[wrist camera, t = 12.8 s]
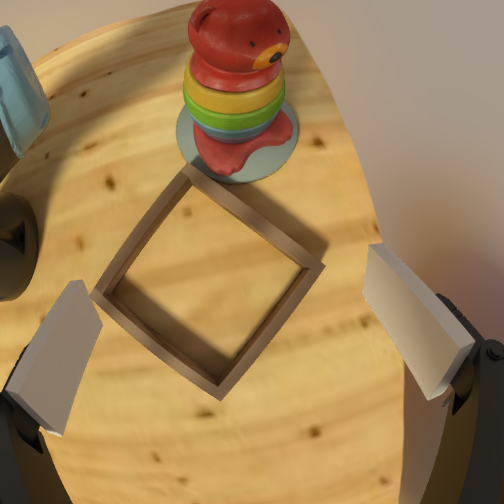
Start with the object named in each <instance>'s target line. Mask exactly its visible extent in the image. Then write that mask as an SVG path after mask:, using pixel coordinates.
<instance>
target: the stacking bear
mask: <svg viewBox="0 0 504 504" xmlns="http://www.w3.org/2000/svg"><path fill="white" fill-rule="evenodd" d="M188 35H189V39H190V42H191V44H192V46H193V48H194V49H195V50H194V51H193V52H192V54H191V55H190V57H189V59H188V61H187V63H186V67H185V74H184V83H183V94H184V101H185V104H186V108H187V110H188V112H189V114H190V116H191V118H192V119H193V120H194V122H193V134H194V140H195V144H196V147H197V150H198V152H199V154H200V156H201V158H202V160H203V161H204V163H205V164H206V166H207V167H208V168H209V169H210V170H211V171H212V172H213V173H214V174H216V175H224V176H231V175H232V174H233V173H237V172H239V171H240V170H241V169H242V168H243V166H244V164H245V162H246V160H247V159H248V157H249V156H250V155H251V154H252V153H253V152H254V151H256V150H258V149H260V148H262V147H266V146H279V145H283V144H285V142H286V141H288V140H290V139H291V137H292V130H293V125H292V122H291V120H290V119H289V118H288V116H287V115H286V114H285V113H284V111H283V110H282V109H281V105H282V103H283V100H284V94H285V80H284V72H283V66H282V62H281V58H282V57H283V55H284V54H285V53H286V51H287V49H288V46H289V43H290V31H289V27H288V24H287V22H286V20H285V17H284V15H283V14H282V12H281V11H280V9H279V8H278V7H277V6H276V5H275V4H274V3H273V2H272V1H270V0H203V1H202V2H201V3H200V4H199V5H198V6H197V7H196V9H195V10H194V11H193V13H192V15H191V17H190V20H189V23H188Z"/></svg>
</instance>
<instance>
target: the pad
mask: <svg viewBox="0 0 504 504" xmlns="http://www.w3.org/2000/svg"><path fill="white" fill-rule="evenodd" d="M281 109H282V110H283V111H284V113H285V114H286V115H287V116H288V118H289V119H290V120H291V122H292V125H293V130H292V137H291V139H290V140H288V141H286V142H285V144H283V145H279V146H266V147H262V148H260V149H258V150H256V151H254V152H253V153H252V154H251V155H250V156H249V157H248V159H247V160H246V162H245V164H244V166H243V168H242V169H241V170H240V171H239V172H237V173H233V174H232V175H231V176H224V175H216V174H214V173H213V172H212V171H211V170H210V169H209V168H208V167H207V166H206V164H205V163H204V161H203V160H202V158H201V156H200V154H199V152H198V150H197V147H196V144H195V140H194V134H193V122H194V120H193V119H192V118H191V116H190V114H189V112H188V110H187V108H186V104H185V106H184V107H183V109H182V110H181V112H180V114H179V117H178V120H177V125H176V139H177V143H178V146H179V149H180V151H181V153H182V155H183V157H184V158H185V160H186V161H187V162H188V163H190V164H191V165H192V166H194V167H195V168H197V169H198V170H199V171H201V172H202V173H204V174H205V175H206V176H208V177H209V178H211V179H212V180H214V181H218V182H222V183H227V184H245V183H251V182H255V181H258V180H261V179H264V178H266V177H268V176H270V175H272V174H273V173H275V172H276V171H277V170H279V169H280V168H281V167H282V166H283V165H284V164H285V163H286V162H287V160H288V159H289V157H290V155H291V153H292V151H293V149H294V147H295V144H296V141H297V136H298V126H297V120H296V117H295V114H294V112H293V110H292V109H291V107H290V106H289V104H288V103H287V102H286V101H285V99H284V100H283V103H282V105H281Z"/></svg>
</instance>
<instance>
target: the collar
mask: <svg viewBox="0 0 504 504" xmlns="http://www.w3.org/2000/svg"><path fill="white" fill-rule="evenodd" d="M192 185H193V186H194V187H196V188H197V189H198V190H200V191H201V192H202V193H204V194H205V195H207V196H208V197H209V198H211V199H212V200H213V201H215V202H216V203H217V204H219V205H220V206H221V207H223V208H224V209H225V210H227V211H228V212H229V213H231V214H232V215H233V216H235V217H236V218H237V219H239V220H240V221H241V222H243V223H244V224H245V225H247V226H248V227H249V228H251V229H252V230H253V231H255V232H256V233H257V234H259V235H260V236H261V237H262V238H264V239H265V240H266V241H268V242H269V243H270V244H272V245H273V246H274V247H276V248H277V249H278V250H280V251H281V252H282V253H283V254H285V255H286V256H287V257H289V258H290V259H291V260H293V261H294V262H295V263H296V264H298V265H299V266H300V267H302V268H303V270H302V272H301V273H300V275H299V276H298V277H297V279H296V280H295V281H294V283H293V284H292V286H291V287H290V288H289V290H288V291H287V292H286V294H285V295H284V296H283V298H282V299H281V300H280V302H279V303H278V304H277V306H276V307H275V308H274V310H273V311H272V312H271V314H270V315H269V316H268V318H267V319H266V320H265V322H264V323H263V324H262V325H261V327H260V328H259V329H258V331H257V332H256V333H255V334H254V336H253V337H252V338H251V340H250V341H249V342H248V343H247V345H246V346H245V347H244V348H243V350H242V351H241V352H240V353H239V355H238V356H237V357H236V358H235V360H234V361H233V362H232V363H231V365H230V366H229V367H228V368H227V369H226V371H225V372H224V373H223V374H222V376H221V377H220V378H217V377H216V376H215V375H213V374H212V373H210V372H209V371H207V370H206V369H204V368H203V367H202V366H200V365H199V364H197V363H196V362H195V361H193V360H192V359H190V358H189V357H188V356H186V355H185V354H184V353H182V352H181V351H180V350H178V349H177V348H176V347H174V346H173V345H172V344H170V343H169V342H168V341H167V340H165V339H164V338H163V337H162V336H160V335H159V334H158V333H157V332H155V331H154V330H153V329H152V328H150V327H149V326H148V325H147V324H146V323H144V322H143V321H142V320H141V319H140V318H139V317H137V316H136V315H135V314H134V313H133V312H132V311H130V310H129V309H128V308H127V307H126V306H125V305H124V304H123V303H121V302H120V301H119V300H118V299H117V298H116V297H115V296H114V295H113V294H112V292H113V291H114V289H115V288H116V286H117V285H118V283H119V282H120V280H121V279H122V277H123V276H124V275H125V273H126V272H127V270H128V269H129V267H130V266H131V264H132V263H133V262H134V260H135V259H136V257H137V256H138V255H139V253H140V252H141V250H142V249H143V248H144V246H145V245H146V243H147V242H148V241H149V239H150V238H151V237H152V235H153V234H154V233H155V231H156V230H157V229H158V227H159V226H160V225H161V223H162V222H163V221H164V220H165V218H166V217H167V216H168V214H169V213H170V212H171V211H172V209H173V208H174V207H175V206H176V204H177V203H178V202H179V201H180V199H181V198H182V197H183V196H184V194H185V193H186V192H187V191H188V190H189V188H190V187H191V186H192ZM324 268H325V265H324V264H323V263H322V262H320V261H319V260H318V259H317V258H315V257H314V256H313V255H311V254H310V253H309V252H308V251H306V250H305V249H304V248H303V247H301V246H300V245H299V244H297V243H296V242H295V241H294V240H292V239H291V238H290V237H288V236H287V235H286V234H284V233H283V232H282V231H281V230H279V229H278V228H277V227H275V226H274V225H273V224H271V223H270V222H269V221H267V220H266V219H265V218H263V217H262V216H261V215H259V214H258V213H257V212H255V211H254V210H253V209H251V208H250V207H249V206H247V205H246V204H245V203H243V202H242V201H241V200H239V199H238V198H237V197H235V196H234V195H233V194H231V193H230V192H228V191H227V190H226V189H224V188H223V187H222V186H220V185H219V184H217V183H216V182H215V181H213V180H212V179H211V178H209V177H208V176H206V175H205V174H204V173H202V172H201V171H199V170H198V169H197V168H195V167H194V166H192V165H191V164H190V163H188V162H187V164H186V165H185V166H184V167H183V168H182V169H181V171H180V172H179V173H178V174H177V175H176V176H175V178H174V179H173V180H172V181H171V182H170V184H169V185H168V186H167V187H166V188H165V190H164V191H163V192H162V193H161V195H160V196H159V197H158V198H157V200H156V201H155V202H154V203H153V205H152V206H151V207H150V209H149V210H148V211H147V212H146V214H145V215H144V216H143V218H142V219H141V220H140V222H139V223H138V224H137V226H136V227H135V228H134V230H133V231H132V233H131V234H130V235H129V237H128V238H127V239H126V241H125V242H124V244H123V245H122V247H121V248H120V249H119V251H118V252H117V254H116V255H115V257H114V258H113V260H112V261H111V263H110V264H109V266H108V267H107V269H106V270H105V272H104V273H103V275H102V276H101V278H100V279H99V281H98V283H97V284H96V286H95V287H94V289H93V291H92V292H91V294H90V295H89V296H90V298H91V299H92V300H93V301H94V302H95V303H96V304H97V305H98V306H99V307H100V308H101V309H102V310H104V311H105V312H106V313H107V314H108V315H109V316H110V317H111V318H112V319H113V320H114V321H115V322H117V323H118V324H119V325H120V326H121V327H122V328H123V329H124V330H126V331H127V332H128V333H129V334H130V335H131V336H132V337H134V338H135V339H136V340H137V341H138V342H140V343H141V344H142V345H143V346H144V347H146V348H147V349H148V350H149V351H151V352H152V353H153V354H154V355H156V356H157V357H158V358H159V359H161V360H162V361H163V362H165V363H166V364H167V365H169V366H170V367H171V368H173V369H174V370H175V371H177V372H178V373H179V374H181V375H182V376H184V377H185V378H186V379H188V380H189V381H191V382H192V383H194V384H195V385H196V386H198V387H199V388H201V389H202V390H204V391H205V392H207V393H208V394H210V395H211V396H213V397H215V398H216V399H218V400H219V401H222V399H223V398H224V397H225V396H226V395H227V394H228V392H229V391H230V390H231V389H232V388H233V387H234V385H235V384H236V383H237V382H238V381H239V380H240V378H241V377H242V376H243V375H244V374H245V372H246V371H247V370H248V369H249V368H250V366H251V365H252V364H253V363H254V361H255V360H256V359H257V358H258V356H259V355H260V354H261V353H262V351H263V350H264V349H265V348H266V346H267V345H268V344H269V343H270V341H271V340H272V339H273V337H274V336H275V335H276V334H277V332H278V331H279V330H280V328H281V327H282V326H283V324H284V323H285V322H286V321H287V319H288V318H289V317H290V315H291V314H292V313H293V311H294V310H295V308H296V307H297V306H298V304H299V303H300V302H301V300H302V299H303V298H304V296H305V295H306V293H307V292H308V291H309V289H310V288H311V286H312V285H313V284H314V282H315V281H316V279H317V278H318V277H319V275H320V274H321V272H322V271H323V269H324Z"/></svg>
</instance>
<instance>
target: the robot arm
mask: <svg viewBox="0 0 504 504" xmlns="http://www.w3.org/2000/svg"><path fill="white" fill-rule="evenodd" d="M49 118H50V107H49V103H48V100H47V98H46V95H45V93H44V91H43V88H42V86H41V84H40V82H39V80H38V78H37V75H36V73H35V71H34V69H33V67H32V65H31V63H30V62H29V59H28V57H27V56H26V53H25V52H24V50H23V48H22V46H21V44H20V43H19V41H18V39H17V38H16V37H15V35H14V33H13V31H12V30H11V28H10V27H9V26H6V25H5V26H2V27H0V183H1V182H2V181H3V179H4V178H5V177H6V176H7V174H8V173H9V172H10V170H11V169H12V168H13V167H14V166H15V164H16V163H17V162H18V161H19V160H20V159H22V158H23V157H24V156H25V154H26V151H27V149H28V148H29V147H30V146H31V145H32V143H33V142H34V141H35V140H36V139H37V138H38V137H39V135H40V134H41V133H42V132H43V131H44V130H45V128H46V127H47V124H48V122H49ZM37 250H38V232H37V224H36V220H35V216H34V213H33V210H32V208H31V206H30V205H29V203H28V202H27V201H26V200H25V199H24V198H23V197H21V196H18V195H16V194H13V193H11V192H0V302H3V301H12V300H14V299H16V298H18V297H19V296H20V295H21V294H22V293H23V292H24V290H25V289H26V287H27V286H28V284H29V282H30V280H31V277H32V274H33V271H34V268H35V263H36V258H37ZM362 295H363V297H364V298H365V300H366V301H367V303H368V304H369V306H370V307H371V309H372V310H373V312H374V313H375V315H376V316H377V318H378V319H379V321H380V322H381V324H382V325H383V327H384V329H385V330H386V332H387V333H388V335H389V336H390V338H391V340H392V341H393V343H394V344H395V346H396V348H397V349H398V351H399V352H400V354H401V356H402V357H403V359H404V361H405V362H406V364H407V366H408V367H409V369H410V371H411V372H412V374H413V376H414V377H415V379H416V381H417V382H418V384H419V386H420V388H421V389H422V391H423V393H424V394H425V397H426V398H427V400H430V399H432V398H435V397H437V396H439V395H441V394H443V393H444V391H445V390H446V389H447V387H448V386H449V384H451V386H452V387H453V390H452V392H451V393H450V395H449V396H448V397H447V399H446V400H445V401H444V403H443V405H442V407H445V406H446V404H447V403H448V401H449V406H448V412H447V417H446V422H445V426H444V431H443V435H442V439H441V443H440V447H439V450H438V454H437V457H436V460H435V464H434V467H433V470H432V473H431V476H430V479H429V482H428V484H427V487H426V490H425V492H424V495H423V497H422V500H421V502H420V504H504V345H503V344H502V343H500V342H499V341H496V340H492V339H489V340H485V339H484V338H483V337H482V336H481V335H480V334H479V333H478V331H477V330H476V329H475V328H474V327H473V326H472V324H471V323H470V322H469V321H468V320H467V319H466V317H464V316H463V314H462V313H461V312H460V311H459V310H457V307H455V305H454V304H453V303H452V302H451V301H450V300H449V299H447V298H446V297H444V296H442V295H441V294H439V293H438V294H434V293H433V292H432V291H431V290H430V289H429V288H428V287H427V286H426V285H425V284H424V282H422V281H421V279H420V278H419V277H418V276H417V275H416V274H415V273H414V272H413V271H412V270H411V269H410V268H409V267H408V266H407V265H406V264H404V262H403V261H402V260H400V259H399V258H398V257H397V256H396V255H395V254H394V253H393V252H392V251H391V250H390V249H389V248H388V247H387V246H386V245H385V244H384V243H379V244H371V245H369V249H368V257H367V265H366V272H365V279H364V285H363V291H362ZM102 326H103V324H102V322H101V320H100V318H99V315H98V313H97V311H96V309H95V307H94V305H93V303H92V301H91V298H90V296H89V294H88V292H87V289H86V287H85V285H84V282H83V280H76V281H70V282H69V284H68V285H67V286H66V288H65V289H64V291H63V292H62V294H61V295H60V296H59V298H58V299H57V301H56V302H55V304H54V305H53V307H52V308H51V310H50V311H49V313H48V314H47V316H46V317H45V319H44V321H43V322H42V324H41V325H40V327H39V329H38V330H37V332H36V333H35V335H34V337H33V338H32V340H31V342H30V343H29V344H28V345H27V346H26V347H25V348H24V349H23V351H22V353H21V355H20V356H19V359H18V360H17V362H16V364H15V367H14V368H13V369H12V371H11V373H10V375H9V377H8V379H7V381H6V383H5V385H4V387H3V390H2V392H1V393H0V504H73V503H72V501H71V499H70V497H69V496H68V494H67V492H66V490H65V488H64V486H63V484H62V481H61V479H60V477H59V475H58V473H57V470H56V468H55V466H54V463H53V461H52V458H51V456H50V453H49V451H48V448H47V445H46V443H45V440H44V437H43V435H42V433H41V432H40V431H39V427H40V426H42V427H43V428H44V429H45V430H46V431H47V432H48V433H51V434H54V435H58V436H62V437H63V434H64V430H65V427H66V424H67V420H68V417H69V414H70V410H71V407H72V404H73V401H74V398H75V395H76V392H77V389H78V387H79V384H80V381H81V378H82V376H83V373H84V370H85V368H86V365H87V362H88V360H89V357H90V355H91V352H92V350H93V347H94V345H95V343H96V340H97V338H98V335H99V333H100V331H101V328H102Z"/></svg>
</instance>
